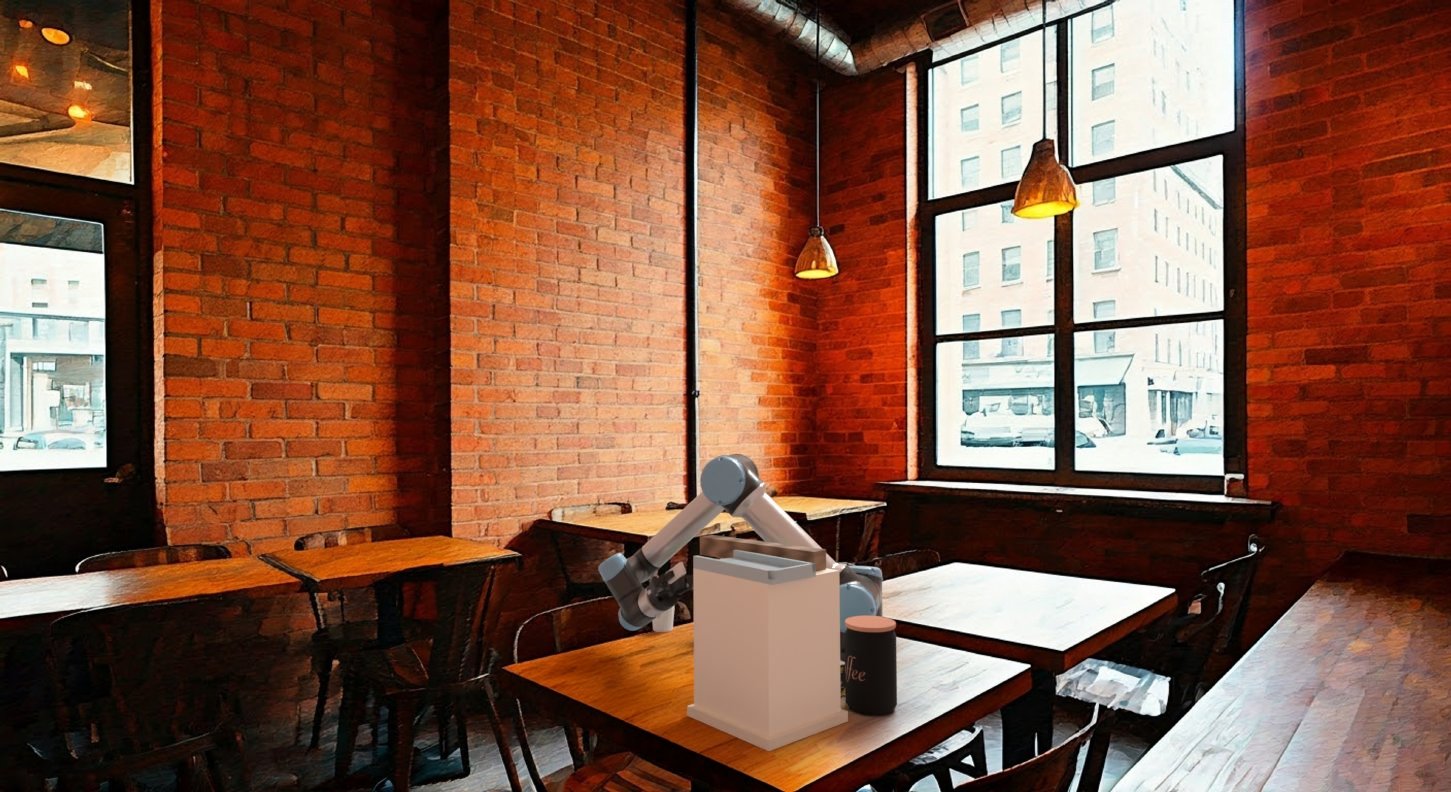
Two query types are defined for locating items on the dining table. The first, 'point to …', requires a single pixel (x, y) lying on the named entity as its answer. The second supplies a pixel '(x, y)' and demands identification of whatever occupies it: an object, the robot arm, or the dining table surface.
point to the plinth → (767, 657)
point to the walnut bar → (761, 549)
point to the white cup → (664, 621)
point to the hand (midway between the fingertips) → (706, 563)
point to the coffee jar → (870, 665)
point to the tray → (757, 567)
